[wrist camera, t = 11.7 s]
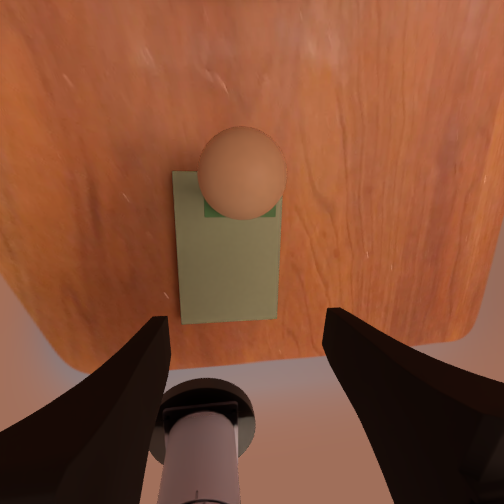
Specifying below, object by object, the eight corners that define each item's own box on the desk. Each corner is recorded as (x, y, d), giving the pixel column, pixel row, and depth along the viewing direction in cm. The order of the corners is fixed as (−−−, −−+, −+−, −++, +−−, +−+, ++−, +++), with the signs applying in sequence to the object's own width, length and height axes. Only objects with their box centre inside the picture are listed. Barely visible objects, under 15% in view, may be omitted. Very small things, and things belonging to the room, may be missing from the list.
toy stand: (273, 312, 23) (276, 318, 22) (182, 317, 22) (181, 324, 21) (279, 173, 20) (283, 173, 19) (174, 171, 19) (171, 170, 18)
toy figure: (295, 227, 10) (303, 120, 9) (196, 228, 9) (191, 114, 8) (253, 199, 19) (254, 148, 18) (204, 199, 19) (203, 146, 18)
